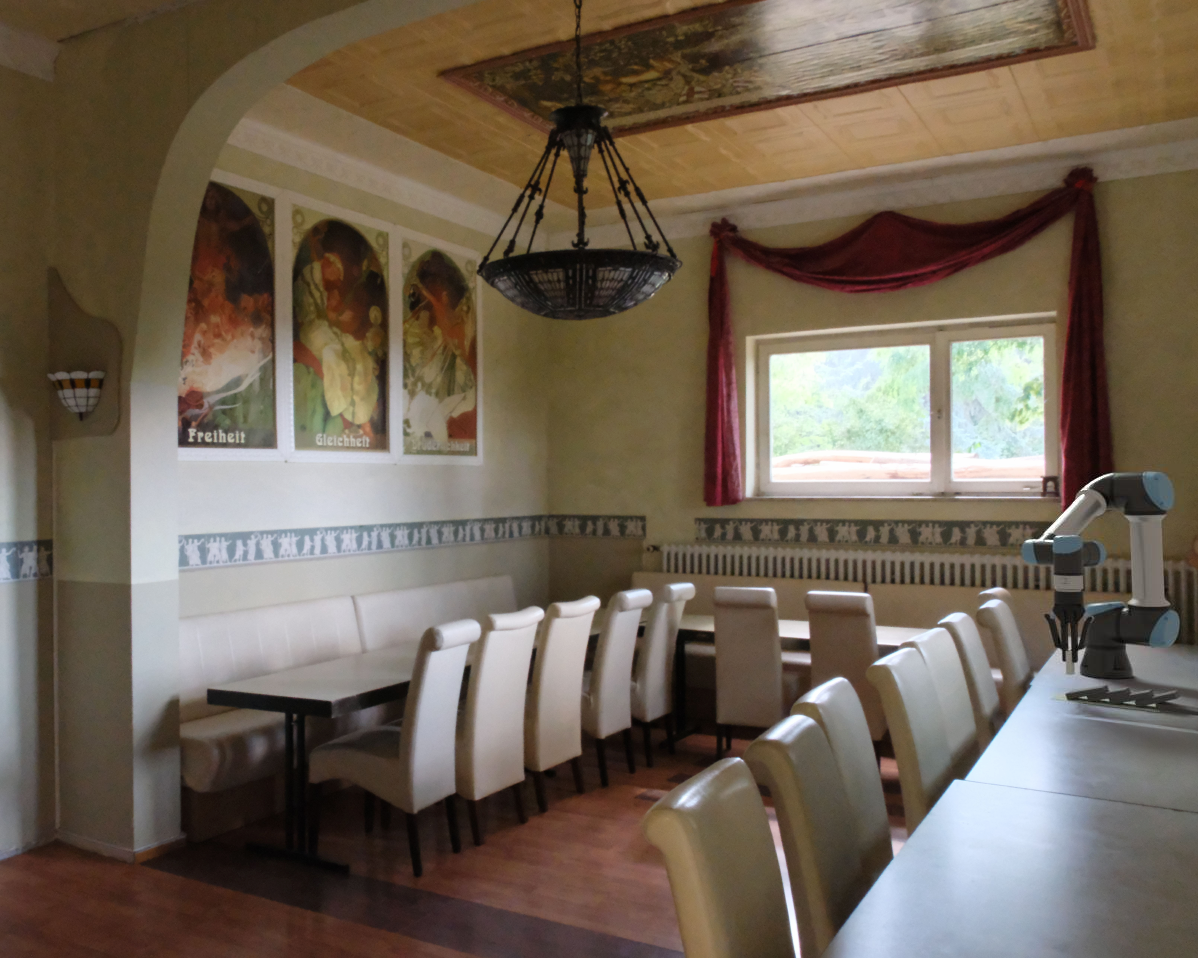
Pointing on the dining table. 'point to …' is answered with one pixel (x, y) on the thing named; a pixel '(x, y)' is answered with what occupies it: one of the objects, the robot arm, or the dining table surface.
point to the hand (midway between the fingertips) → (1070, 673)
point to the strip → (1107, 703)
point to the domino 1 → (1087, 692)
